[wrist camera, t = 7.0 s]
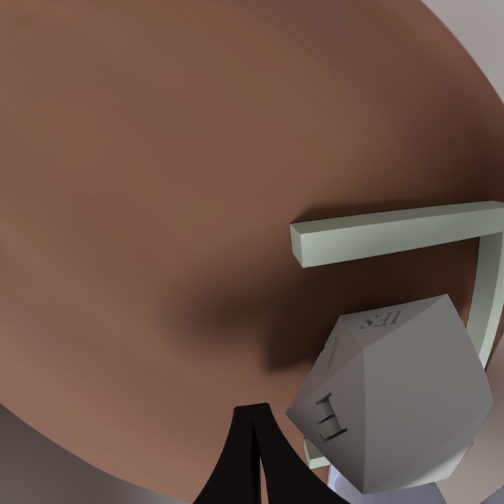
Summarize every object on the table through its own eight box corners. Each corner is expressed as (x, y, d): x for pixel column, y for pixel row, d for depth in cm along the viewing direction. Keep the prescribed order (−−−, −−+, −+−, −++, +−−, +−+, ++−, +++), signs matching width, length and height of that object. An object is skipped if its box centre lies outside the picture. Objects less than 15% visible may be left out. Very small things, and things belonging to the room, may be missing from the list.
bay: (455, 396, 16) (466, 410, 15) (304, 448, 16) (309, 469, 14) (493, 200, 12) (515, 206, 10) (289, 224, 12) (300, 234, 10)
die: (400, 231, 13) (346, 358, 5) (510, 332, 10) (528, 492, 3) (315, 335, 17) (219, 453, 10) (412, 410, 15) (364, 541, 8)
